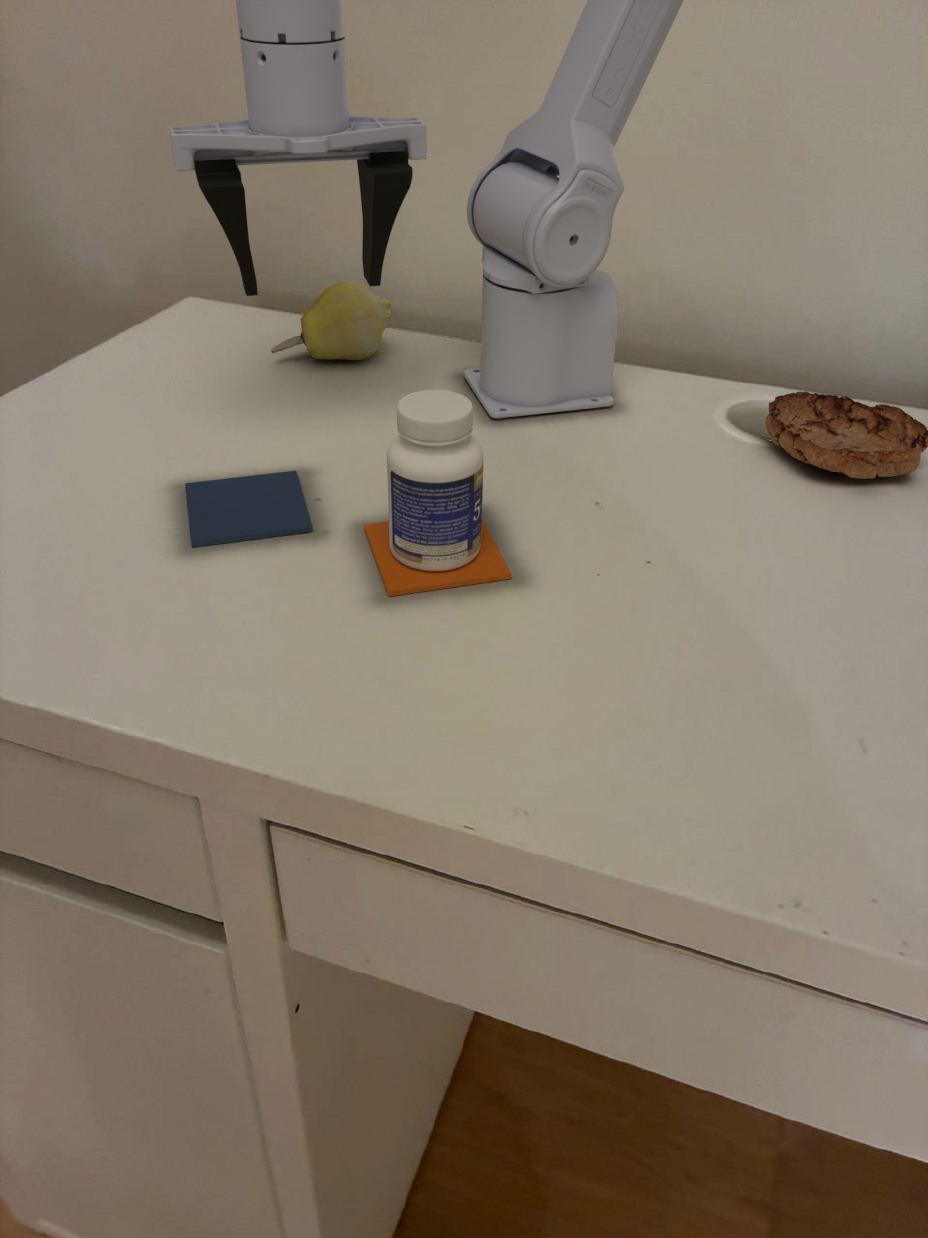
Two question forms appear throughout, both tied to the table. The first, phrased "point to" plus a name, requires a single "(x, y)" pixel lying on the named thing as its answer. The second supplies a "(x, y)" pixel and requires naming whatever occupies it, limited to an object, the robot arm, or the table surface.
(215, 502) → the blue mat
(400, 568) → the amber mat
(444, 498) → the pill bottle
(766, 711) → the table surface
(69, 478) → the table surface
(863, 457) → the cookie
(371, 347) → the fruit
